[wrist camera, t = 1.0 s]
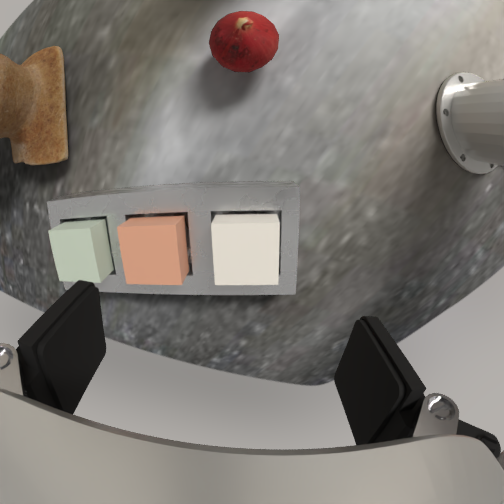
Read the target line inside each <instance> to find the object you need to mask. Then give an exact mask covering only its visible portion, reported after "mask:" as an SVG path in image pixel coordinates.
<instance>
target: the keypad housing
mask: <svg viewBox="0 0 504 504" xmlns="http://www.w3.org/2000/svg"><path fill="white" fill-rule="evenodd" d="M47 206H48V213H49V219H50V225H51V229H53V228H54V227H56V226H58V225H60V224H62V223H64V222H73V221H87V220H102V219H105V221H106V228H107V234H108V241H109V247H110V252H111V258H112V263H113V268H114V270H113V271H112V272H111V273H110V274H109V275H108V276H107V277H106V278H105V279H104V280H103V281H102V282H101V283H94V284H95V287H97V288H98V289H99V292H117V293H142V294H178V295H287V294H296V280H297V261H298V238H299V209H300V187H299V186H298V185H297V184H296V183H295V182H294V181H228V182H199V183H179V184H163V185H149V186H136V187H125V188H114V189H105V190H96V191H87V192H79V193H71V194H66V195H64V196H61V197H58V198H55V199H53V200H50V201H47ZM228 214H277V216H278V219H279V222H280V236H279V279H278V285H215V278H214V264H213V248H212V231H211V223H212V221H213V219H214V218H215V216H216V215H228ZM163 216H184V219H185V231H186V243H187V254H188V264H189V272H188V274H187V276H186V278H185V280H184V282H183V284H182V285H147V284H127V283H126V278H125V273H124V268H123V262H122V257H121V251H120V244H119V238H118V231H117V227H118V226H119V225H121V224H122V223H124V222H125V221H127V220H128V219H130V218H140V217H163ZM63 283H64V287H65V290H68V289H69V288H71V287H72V286H73V285H74V284H75V283H76V282H69V281H63Z"/></svg>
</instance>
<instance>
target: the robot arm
mask: <svg viewBox="0 0 504 504" xmlns="http://www.w3.org/2000/svg"><path fill="white" fill-rule="evenodd" d="M436 114H437V122H438V127H439V131H440V135H441V138H442V140H443V143H444V145H445V147H446V149H447V151H448V153H449V154H450V156H451V157H452V158H453V160H454V161H455V162H456V163H457V164H458V165H459V166H460V167H462V168H463V169H465V170H466V171H469V172H472V173H476V174H486V173H489V172H491V171H492V170H494V169H495V168H496V167H497V166H498V165H500V166H504V79H499V80H492V81H485V80H483V79H482V78H481V77H479V76H477V75H476V74H473V73H470V72H459V73H455V74H453V75H451V76H449V77H448V78H447V79H446V80H445V81H444V82H443V84H442V86H441V87H440V90H439V93H438V98H437V104H436ZM18 344H19V347H18V348H17V349H15V348H14V347H13V346H11V345H9V344H5V343H0V504H504V451H503V452H502V453H500V452H501V448H500V444H499V442H498V440H497V438H496V437H495V436H494V435H493V434H491V433H489V432H486V431H484V430H482V429H479V428H477V427H475V426H472V425H470V424H468V423H466V422H463V421H461V420H459V410H458V407H457V405H456V404H455V403H454V401H453V400H451V399H450V398H449V397H447V396H445V395H443V394H438V393H433V394H429V395H428V396H426V397H425V396H424V394H423V393H424V391H425V390H426V387H425V386H424V384H423V383H422V381H421V380H420V378H419V376H418V375H417V373H416V372H415V371H414V369H413V367H412V366H411V364H410V363H409V361H408V360H407V359H406V357H405V356H404V354H403V353H402V351H401V350H400V348H399V347H398V346H397V344H396V343H395V341H394V340H393V338H392V337H391V335H390V334H389V333H388V331H387V330H386V328H385V327H384V326H383V324H382V323H381V321H380V320H379V319H378V318H377V317H370V316H362V317H361V318H360V320H357V321H356V322H355V325H354V327H353V330H352V333H351V335H350V338H349V341H348V343H347V346H346V348H345V351H344V353H343V356H342V358H341V361H340V363H339V366H338V368H337V370H336V373H335V377H334V381H335V384H336V387H337V390H338V393H339V396H340V398H341V401H342V404H343V407H344V410H345V413H346V415H347V419H348V422H349V424H350V427H351V430H352V433H353V436H354V439H355V442H356V445H355V446H346V447H335V448H323V449H301V450H300V449H298V450H266V449H243V448H229V447H218V446H208V445H200V444H192V443H185V442H180V441H173V440H168V439H162V438H157V437H152V436H147V435H143V434H138V433H134V432H130V431H126V430H122V429H118V428H114V427H111V426H107V425H104V424H100V423H97V422H94V421H91V420H88V419H85V418H82V417H78V416H76V415H73V413H74V411H75V409H76V407H77V406H78V403H79V402H80V400H81V398H82V396H83V394H84V392H85V390H86V388H87V386H88V385H89V383H90V381H91V379H92V377H93V375H94V374H95V372H96V370H97V368H98V366H99V365H100V362H101V361H102V359H103V358H104V356H105V353H106V343H105V336H104V329H103V322H102V314H101V305H100V296H99V289H98V288H97V287H95V284H94V283H93V282H88V281H83V280H78V281H77V282H76V283H75V284H74V285H73V286H72V287H71V288H69V289H68V290H67V291H66V292H65V293H64V294H63V295H62V296H61V297H60V298H59V299H58V300H57V301H56V302H55V303H54V304H53V305H52V306H51V307H50V308H49V309H48V310H47V311H46V312H45V313H44V314H43V315H42V316H41V317H40V318H39V319H38V320H37V321H36V322H35V323H34V324H33V325H32V326H31V327H30V328H29V329H28V331H27V332H26V333H25V334H24V335H23V336H22V337H21V338H20V339H19V340H18Z"/></svg>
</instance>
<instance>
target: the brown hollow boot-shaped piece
mask: <svg viewBox="0 0 504 504" xmlns="http://www.w3.org/2000/svg"><path fill="white" fill-rule="evenodd" d="M4 137H7V138H10V141H11V148H12V156H13V161H14V163H21V162H24V163H25V164H29V165H45V164H51V163H59V162H61V161H64V160H67V159H68V138H67V120H66V99H65V73H64V57H63V53H62V50H61V48H60V47H58V46H52V47H48V48H45V49H42V50H40V51H38V52H36V53H35V54H33V55H32V56H30V57H29V58H28V59H27V60H26V61H25V62H24V63H23V64H22V65H21V66H20V65H18V64H16V63H14V62H13V61H12V60H10V59H9V58H8V57H6V56H4V55H2V54H0V138H4Z"/></svg>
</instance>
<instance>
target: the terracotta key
mask: <svg viewBox="0 0 504 504" xmlns="http://www.w3.org/2000/svg"><path fill="white" fill-rule="evenodd" d="M117 231H118V238H119V244H120V251H121V257H122V262H123V268H124V273H125V278H126V283H127V284H147V285H182V284H183V282H184V280H185V278H186V276H187V274H188V272H189V264H188V254H187V243H186V231H185V219H184V216H163V217H140V218H130V219H128V220H127V221H125V222H124V223H122V224H121V225H119V226H118V227H117Z"/></svg>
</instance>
